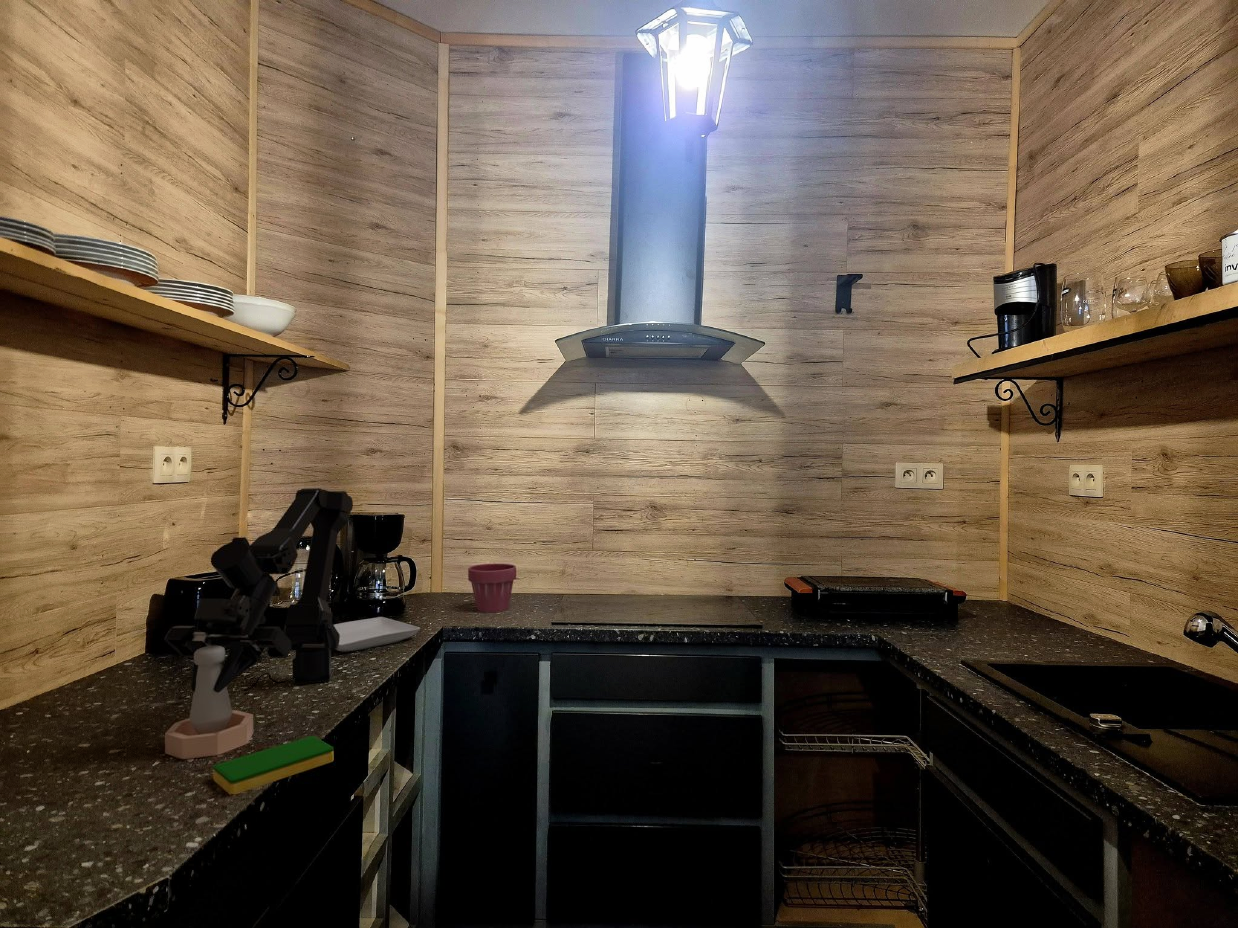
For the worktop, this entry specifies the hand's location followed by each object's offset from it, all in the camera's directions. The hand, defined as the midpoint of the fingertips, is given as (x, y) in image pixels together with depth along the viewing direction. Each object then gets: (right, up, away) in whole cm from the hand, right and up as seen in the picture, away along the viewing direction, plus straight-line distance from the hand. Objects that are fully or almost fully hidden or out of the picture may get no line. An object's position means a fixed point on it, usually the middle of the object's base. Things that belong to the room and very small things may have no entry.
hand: (204, 691), depth 106 cm
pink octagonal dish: (0, -8, +1) cm, 9 cm away
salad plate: (0, -9, +64) cm, 65 cm away
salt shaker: (0, -7, +1) cm, 7 cm away
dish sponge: (+15, -9, -9) cm, 20 cm away
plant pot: (+26, -8, +99) cm, 103 cm away
